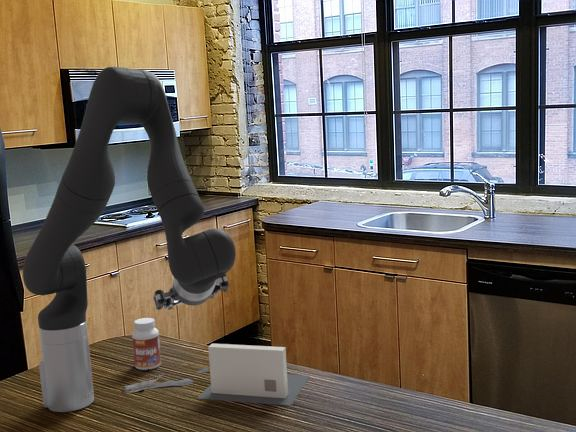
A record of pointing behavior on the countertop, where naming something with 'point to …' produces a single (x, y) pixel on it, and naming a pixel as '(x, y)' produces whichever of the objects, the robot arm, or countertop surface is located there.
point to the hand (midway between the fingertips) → (189, 299)
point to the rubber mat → (293, 390)
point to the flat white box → (248, 370)
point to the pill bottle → (146, 344)
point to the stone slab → (146, 384)
